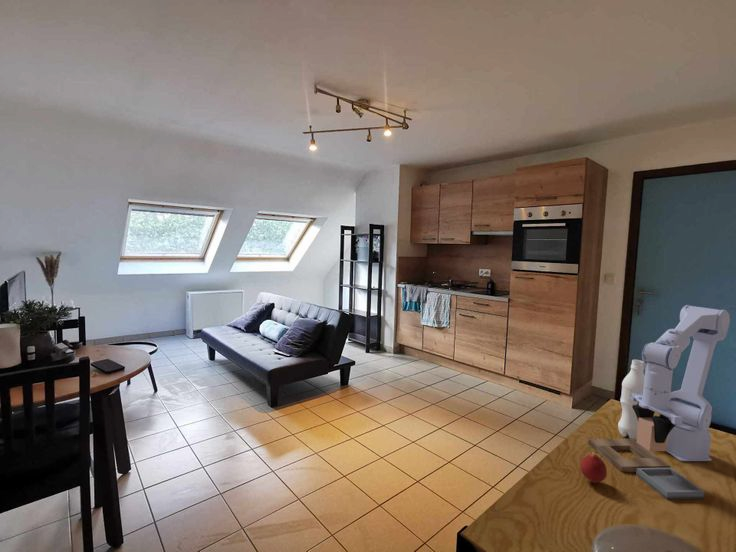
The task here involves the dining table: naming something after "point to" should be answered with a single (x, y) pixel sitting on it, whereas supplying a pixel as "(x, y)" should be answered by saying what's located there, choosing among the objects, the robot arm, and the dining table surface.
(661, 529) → the dining table surface
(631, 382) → the water bottle
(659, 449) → the block
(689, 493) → the tray
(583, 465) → the red pomegranate
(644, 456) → the board
